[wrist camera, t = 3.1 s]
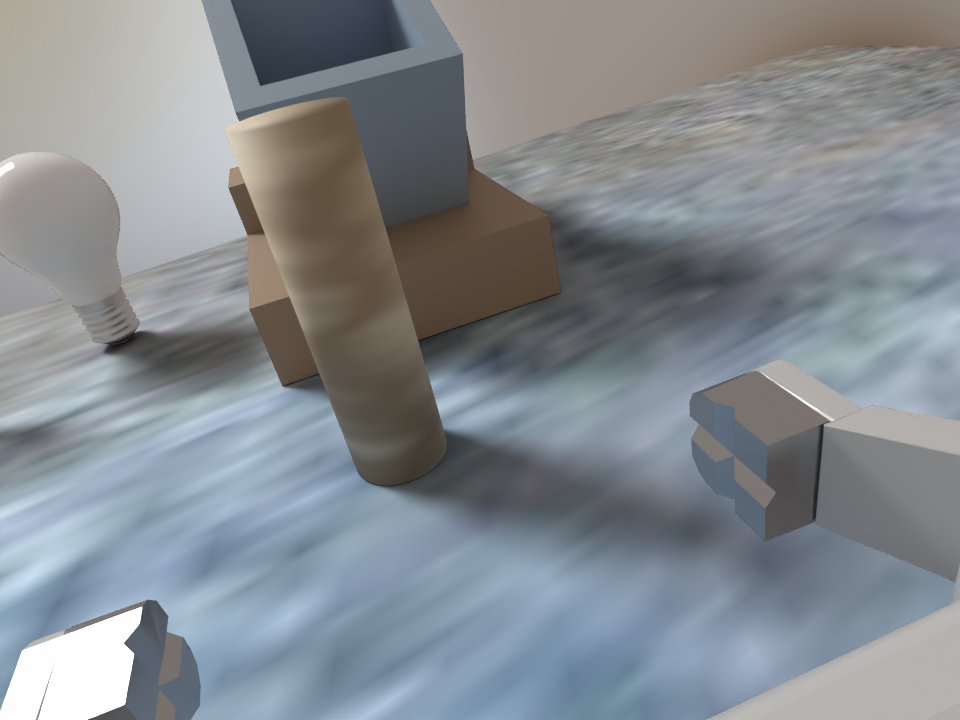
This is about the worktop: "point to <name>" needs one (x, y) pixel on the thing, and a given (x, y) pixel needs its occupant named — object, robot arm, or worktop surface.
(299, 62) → the socket
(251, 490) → the worktop surface
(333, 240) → the peg
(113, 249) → the lightbulb
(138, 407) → the worktop surface
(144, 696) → the robot arm
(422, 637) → the worktop surface
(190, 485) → the worktop surface
